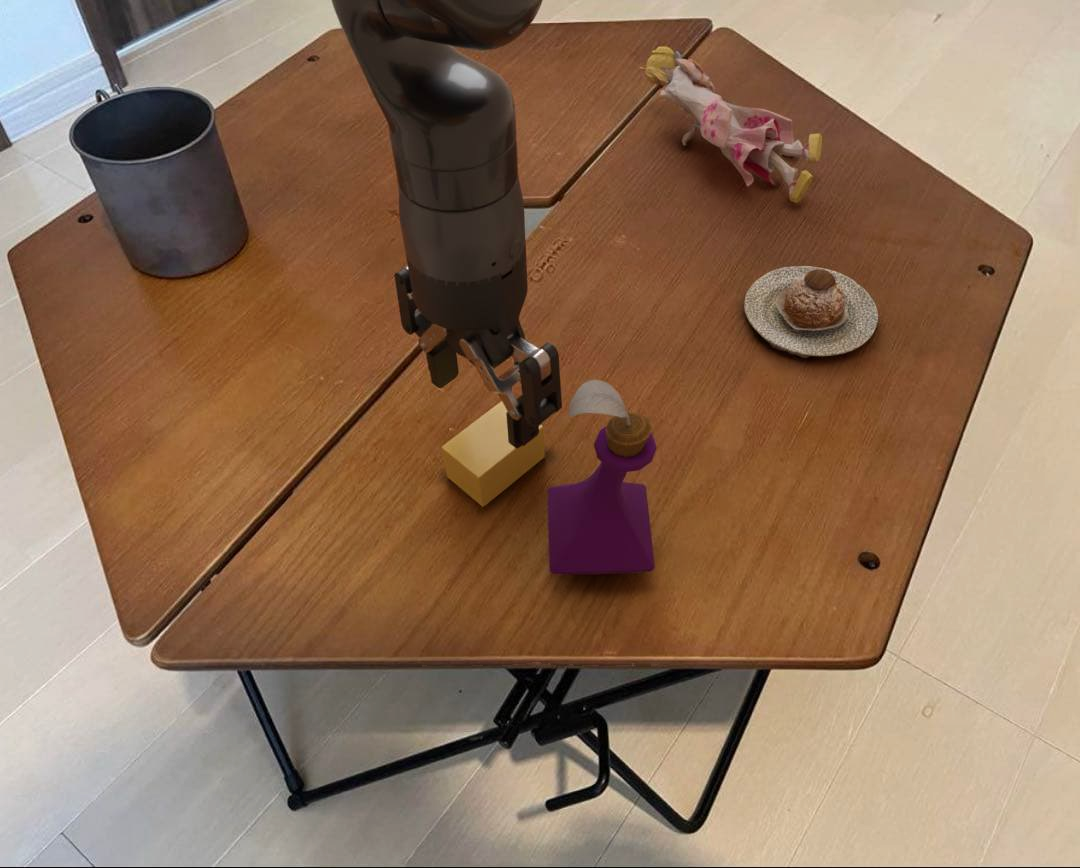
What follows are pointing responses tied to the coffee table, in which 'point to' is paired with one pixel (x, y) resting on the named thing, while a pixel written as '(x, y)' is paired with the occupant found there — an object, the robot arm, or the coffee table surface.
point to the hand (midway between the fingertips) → (483, 409)
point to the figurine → (733, 123)
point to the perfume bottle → (604, 495)
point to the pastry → (810, 311)
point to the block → (489, 456)
